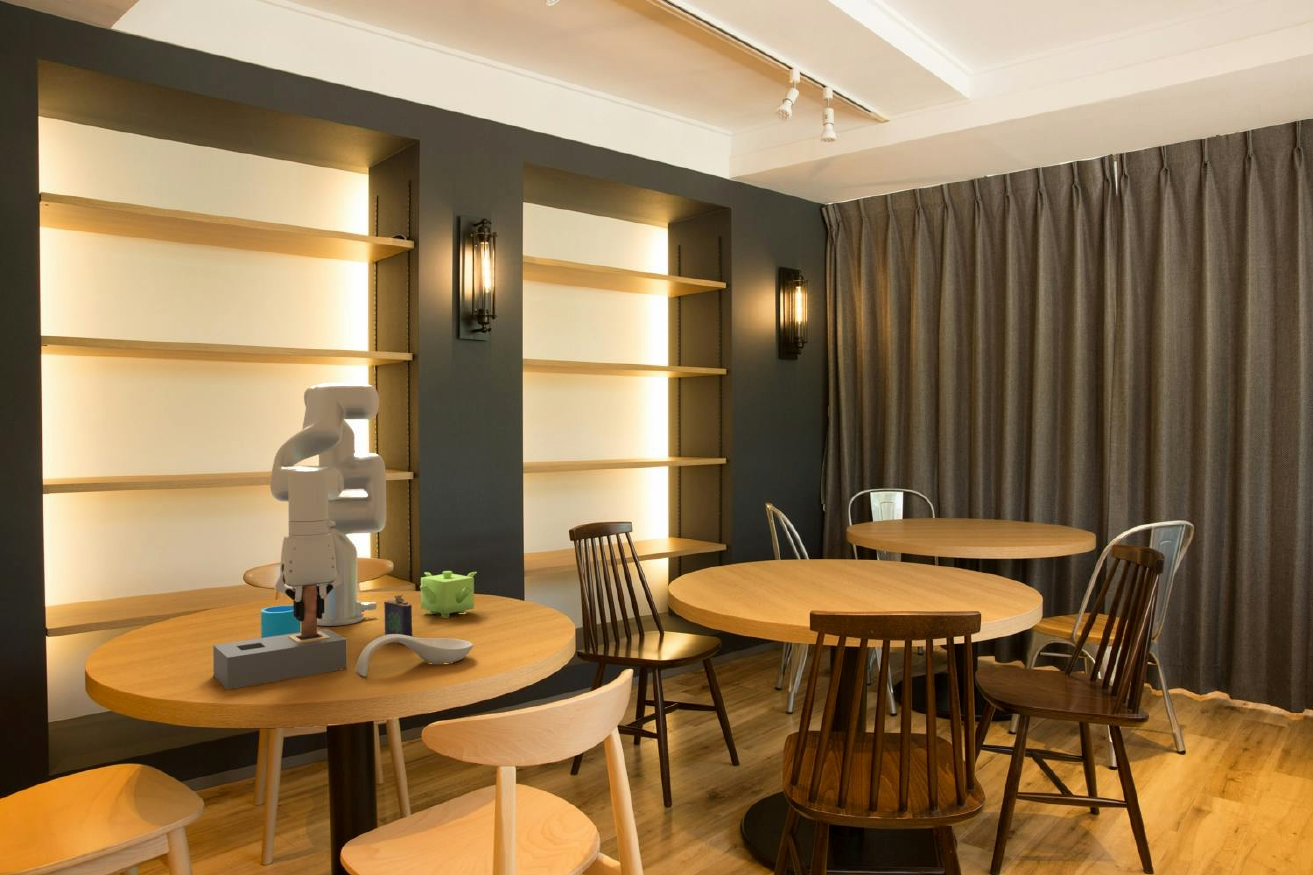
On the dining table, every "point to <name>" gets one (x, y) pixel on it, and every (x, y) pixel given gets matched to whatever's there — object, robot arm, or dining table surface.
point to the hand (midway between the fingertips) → (309, 618)
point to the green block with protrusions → (447, 593)
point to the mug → (279, 621)
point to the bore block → (278, 658)
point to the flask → (398, 617)
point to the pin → (309, 610)
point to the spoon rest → (418, 649)
